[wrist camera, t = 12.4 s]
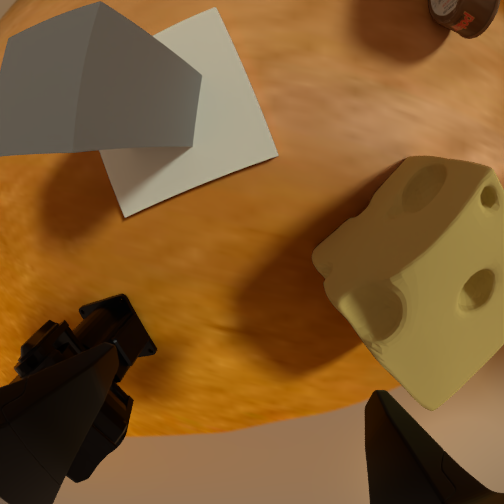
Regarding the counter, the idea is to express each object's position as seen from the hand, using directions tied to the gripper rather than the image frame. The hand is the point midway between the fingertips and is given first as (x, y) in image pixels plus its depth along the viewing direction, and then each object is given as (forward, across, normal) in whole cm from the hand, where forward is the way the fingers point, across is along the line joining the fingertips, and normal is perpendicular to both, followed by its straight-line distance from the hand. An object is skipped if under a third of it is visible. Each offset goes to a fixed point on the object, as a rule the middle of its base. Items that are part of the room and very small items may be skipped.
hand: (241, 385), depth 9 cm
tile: (+13, +8, -9) cm, 18 cm away
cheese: (+13, -10, -2) cm, 17 cm away
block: (+12, +8, -9) cm, 17 cm away
